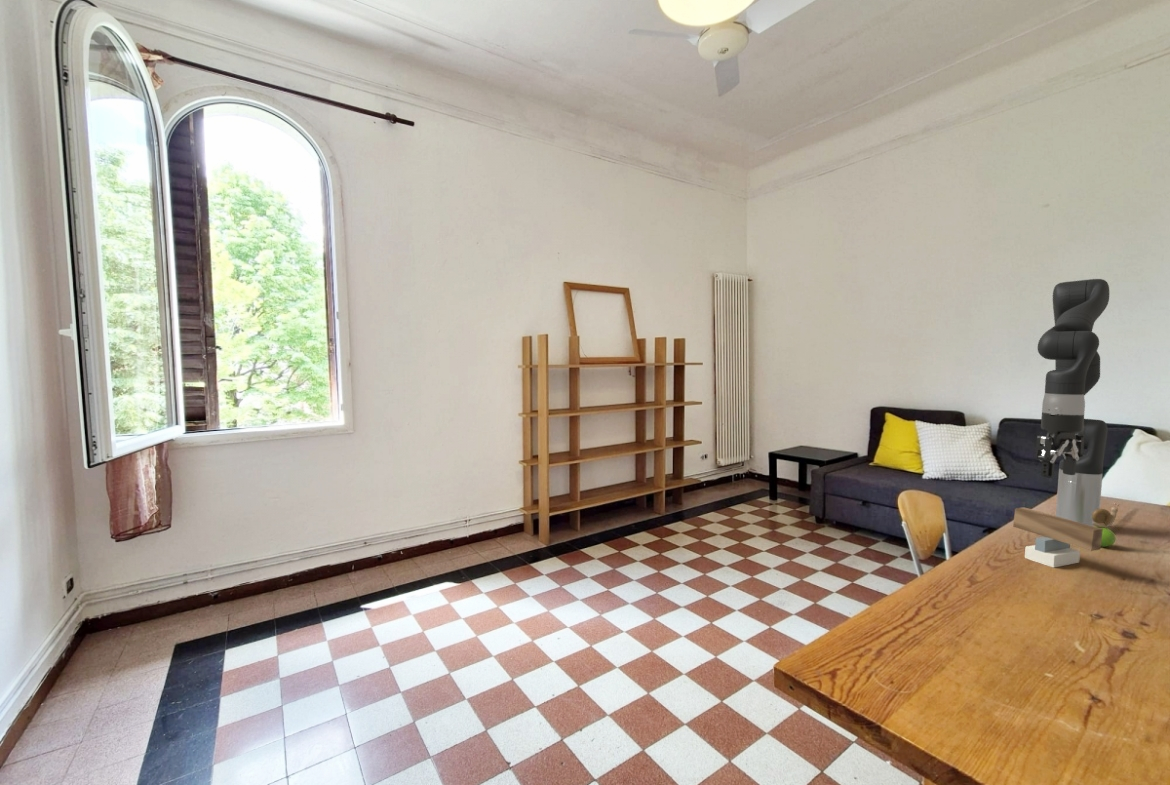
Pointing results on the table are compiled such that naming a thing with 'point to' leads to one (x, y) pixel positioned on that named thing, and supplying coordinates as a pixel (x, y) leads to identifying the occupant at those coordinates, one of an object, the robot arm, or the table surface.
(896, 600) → the table surface
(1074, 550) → the white grey stepped block
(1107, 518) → the snail figurine
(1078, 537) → the walnut bar
